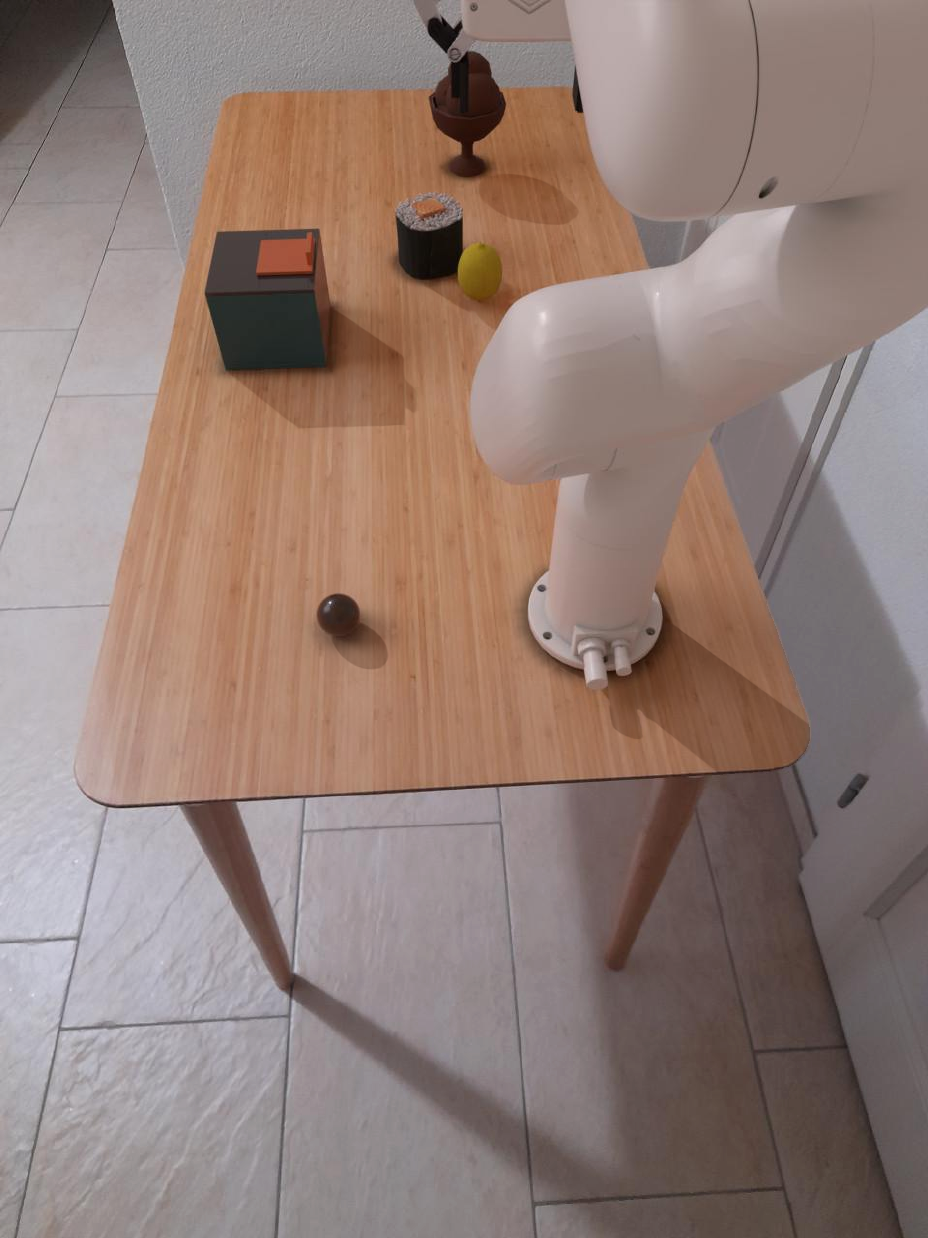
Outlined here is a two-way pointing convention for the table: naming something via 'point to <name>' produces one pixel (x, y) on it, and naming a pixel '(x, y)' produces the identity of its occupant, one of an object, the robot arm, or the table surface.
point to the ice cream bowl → (469, 113)
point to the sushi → (430, 235)
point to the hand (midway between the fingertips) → (520, 105)
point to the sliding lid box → (267, 305)
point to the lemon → (480, 271)
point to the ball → (338, 614)
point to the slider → (286, 256)
